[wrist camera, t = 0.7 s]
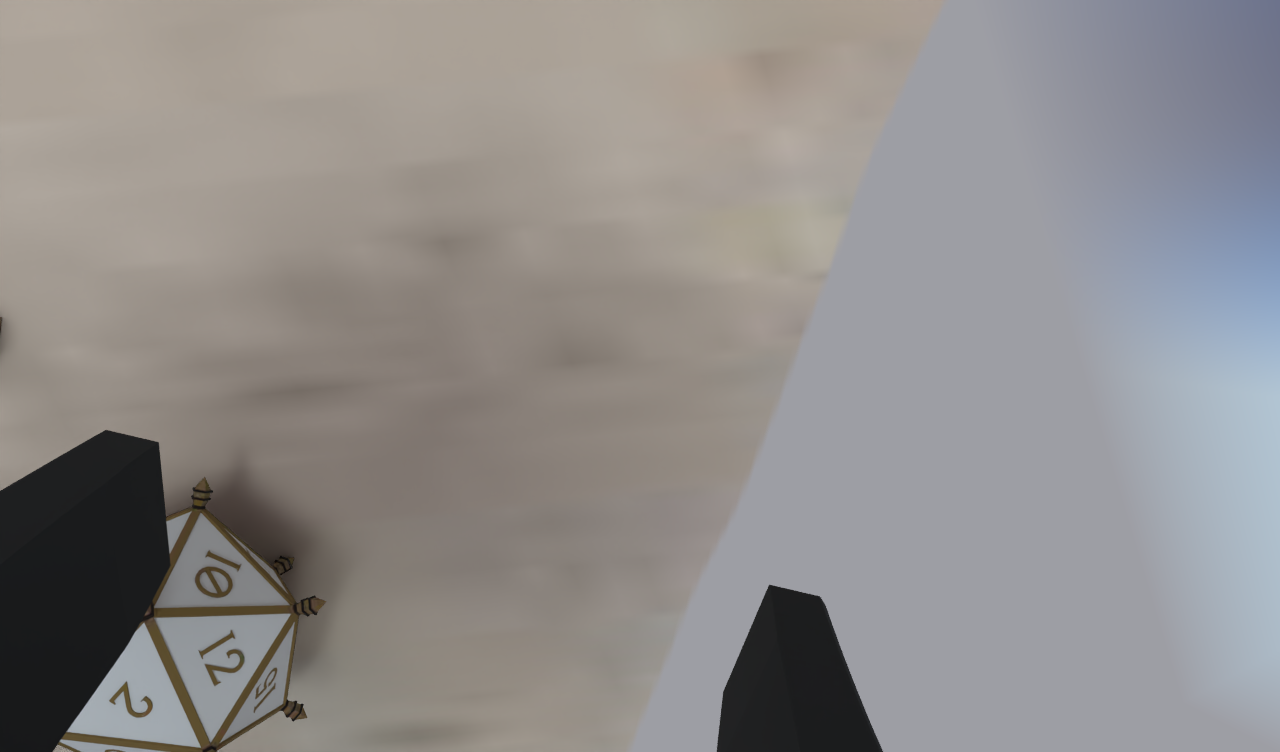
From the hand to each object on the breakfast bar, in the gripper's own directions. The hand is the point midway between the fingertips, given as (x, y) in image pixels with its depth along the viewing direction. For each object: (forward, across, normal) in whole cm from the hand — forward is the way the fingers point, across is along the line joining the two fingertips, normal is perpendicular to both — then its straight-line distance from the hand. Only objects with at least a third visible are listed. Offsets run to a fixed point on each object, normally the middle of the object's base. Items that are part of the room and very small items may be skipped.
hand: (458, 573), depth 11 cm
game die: (+14, +10, +18) cm, 25 cm away
